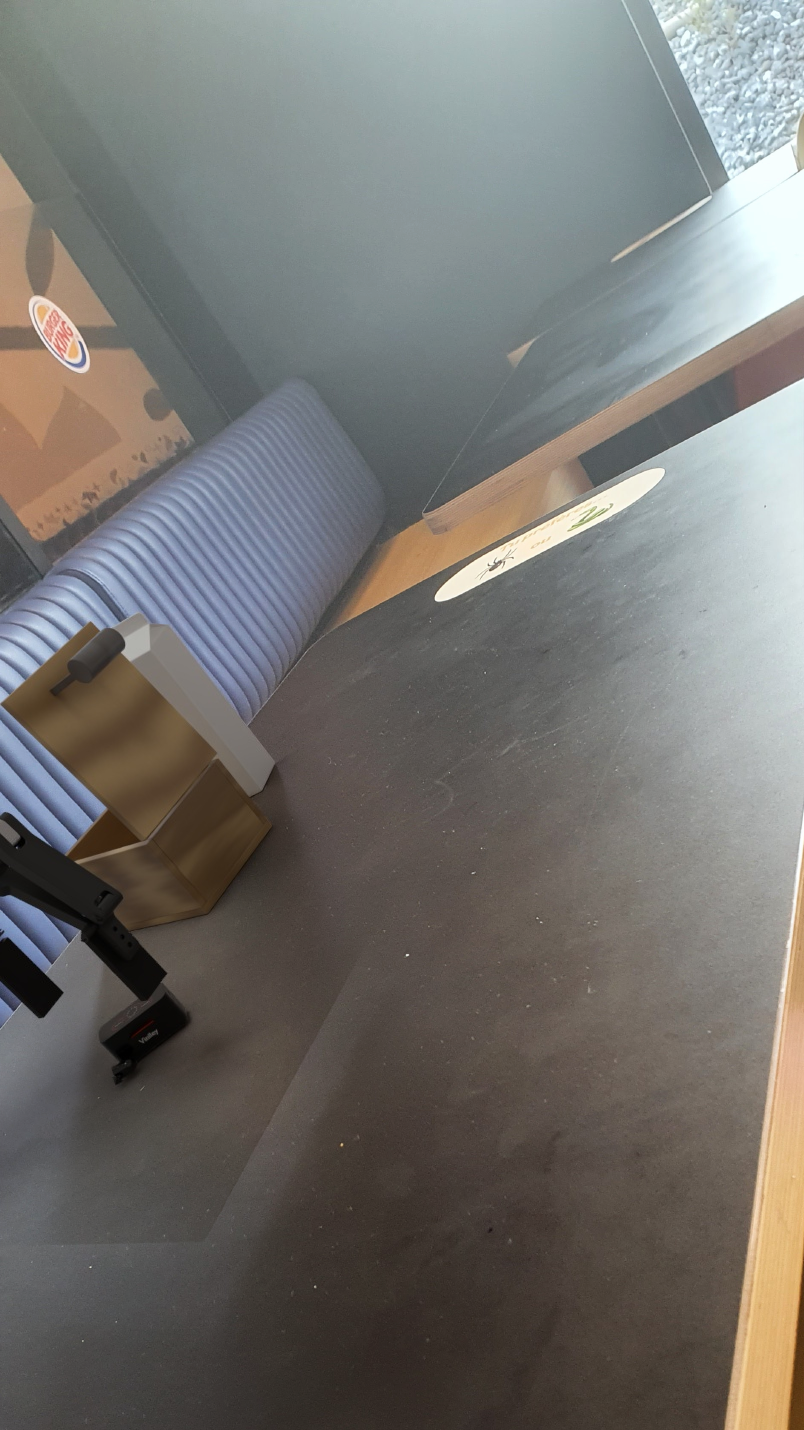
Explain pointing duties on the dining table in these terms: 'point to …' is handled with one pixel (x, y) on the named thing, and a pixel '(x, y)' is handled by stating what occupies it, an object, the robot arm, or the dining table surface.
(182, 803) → the chest
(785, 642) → the dining table surface
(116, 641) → the lid
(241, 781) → the milk
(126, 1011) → the black clip-on device
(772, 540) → the dining table surface
